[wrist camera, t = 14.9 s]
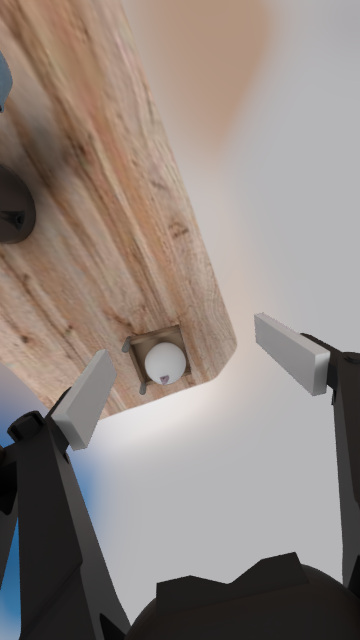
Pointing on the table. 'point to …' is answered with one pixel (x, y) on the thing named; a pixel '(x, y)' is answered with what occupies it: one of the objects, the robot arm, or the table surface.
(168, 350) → the ornament
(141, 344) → the keeper
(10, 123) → the table surface
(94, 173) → the table surface
